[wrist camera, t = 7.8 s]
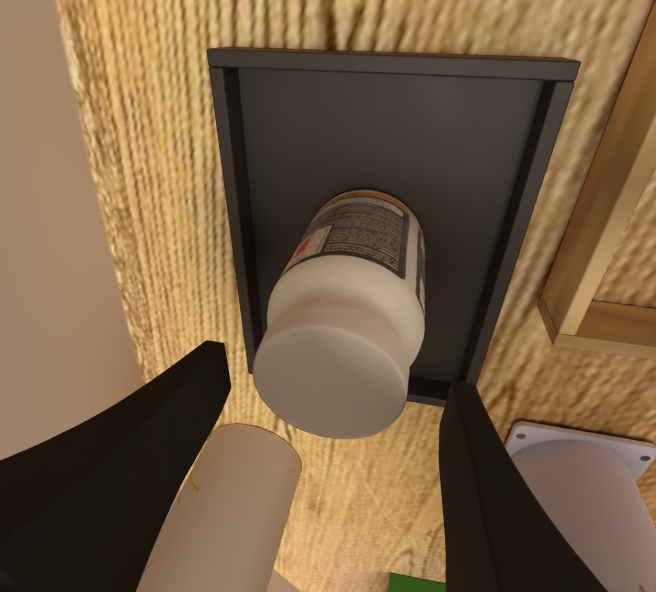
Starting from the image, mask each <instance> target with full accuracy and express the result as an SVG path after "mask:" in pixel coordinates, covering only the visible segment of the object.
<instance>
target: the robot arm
mask: <svg viewBox="0 0 656 592" xmlns="http://www.w3.org/2000/svg"><path fill="white" fill-rule="evenodd" d="M230 390H231V381H230V375H229V369H228V363H227V357H226V351H225V345H224V343H221V342H215V341H209V340H207V341H205V342H204V343H202V344H201V345H199V346H198V347H197V348H195V349H194V350H193V351H191V352H190V353H189V354H187V355H186V356H185V357H183V358H182V359H181V360H179V361H178V362H177V363H175V364H174V365H172V366H171V367H170V368H168V369H167V370H166V371H164V372H163V373H161V374H160V375H159V376H157V377H156V378H154V379H153V380H152V381H150V382H149V383H147V384H146V385H144V386H143V387H141V388H140V389H138V390H137V391H135V392H134V393H132V394H131V395H129V396H127V397H126V398H125V399H123V400H121V401H120V402H118V403H117V404H115V405H113V406H112V407H110V408H108V409H107V410H105V411H103V412H101V413H99V414H98V415H96V416H94V417H92V418H90V419H89V420H87V421H85V422H83V423H81V424H79V425H77V426H75V427H73V428H71V429H69V430H67V431H65V432H63V433H61V434H59V435H57V436H55V437H53V438H51V439H49V440H47V441H45V442H42V443H40V444H38V445H36V446H33V447H31V448H29V449H27V450H25V451H22V452H20V453H17V454H15V455H12V456H10V457H8V458H5V459H3V460H0V592H136V590H137V588H138V585H139V582H140V580H141V577H142V575H143V572H144V570H145V567H146V565H147V562H148V560H149V557H150V554H151V552H152V550H153V547H154V545H155V542H156V540H157V538H158V535H159V533H160V531H161V528H162V526H163V524H164V521H165V519H166V517H167V514H168V512H169V510H170V508H171V506H172V503H173V501H174V499H175V497H176V494H177V492H178V490H179V488H180V486H181V484H182V482H183V480H184V478H185V477H186V475H187V473H188V471H189V469H190V468H191V466H192V464H193V462H194V461H195V459H196V457H197V455H198V454H199V452H200V450H201V448H202V447H203V445H204V443H205V441H206V440H207V438H208V436H209V434H210V433H211V431H212V429H213V427H214V425H215V424H216V422H217V420H218V418H219V416H220V414H221V412H222V410H223V407H224V405H225V403H226V400H227V397H228V395H229V392H230ZM655 458H656V445H654V444H652V443H648V442H642V441H636V440H630V439H624V438H619V437H613V436H607V435H601V434H595V433H590V432H584V431H578V430H572V429H566V428H560V427H555V426H549V425H543V424H537V423H531V422H526V421H519V422H517V423H515V424H514V425H513V428H512V430H511V432H510V435H509V437H508V439H507V441H506V444H505V446H504V444H503V442H502V441H501V439H500V437H499V435H498V433H497V431H496V429H495V427H494V425H493V423H492V421H491V419H490V417H489V415H488V413H487V411H486V409H485V406H484V404H483V402H482V400H481V397H480V395H479V393H478V390H477V388H476V386H475V385H474V384H471V383H465V382H459V381H452V382H451V386H450V390H449V393H448V397H447V401H446V404H445V408H444V411H443V415H442V419H441V422H440V429H439V470H440V482H441V494H442V506H443V518H444V529H445V546H446V592H656V526H655V524H654V522H653V519H652V517H651V515H650V513H649V511H648V508H647V506H646V504H645V502H644V500H643V497H642V495H641V493H640V491H639V489H638V487H637V484H636V481H637V480H638V479H639V478H640V476H641V475H642V474H643V473H644V471H645V470H646V469H647V468H648V466H649V465H650V464H651V463H652V461H653V460H654V459H655Z"/></svg>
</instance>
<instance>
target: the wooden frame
mask: <svg viewBox="0 0 656 592" xmlns="http://www.w3.org/2000/svg"><path fill="white" fill-rule="evenodd" d="M655 166H656V0H655V3H654V5H653V8H652V10H651V13H650V16H649V18H648V21H647V23H646V26H645V28H644V31H643V34H642V36H641V39H640V41H639V44H638V47H637V49H636V52H635V54H634V57H633V60H632V62H631V65H630V67H629V70H628V72H627V75H626V78H625V80H624V83H623V85H622V88H621V91H620V93H619V96H618V98H617V101H616V103H615V106H614V109H613V111H612V114H611V116H610V119H609V122H608V124H607V127H606V129H605V132H604V134H603V137H602V140H601V142H600V145H599V147H598V150H597V153H596V155H595V158H594V160H593V163H592V166H591V168H590V171H589V173H588V176H587V178H586V181H585V184H584V186H583V189H582V191H581V194H580V197H579V199H578V202H577V204H576V207H575V209H574V212H573V215H572V217H571V220H570V222H569V225H568V228H567V230H566V233H565V235H564V238H563V240H562V243H561V246H560V248H559V251H558V253H557V256H556V259H555V261H554V264H553V266H552V269H551V272H550V274H549V277H548V279H547V282H546V284H545V287H544V290H543V292H542V295H541V297H540V299H539V302H538V304H537V307H538V309H539V312H540V315H541V317H542V320H543V322H544V325H545V327H546V330H547V332H548V335H549V338H550V340H551V343H552V345H553V346H557V347H564V348H571V349H578V350H585V351H592V352H599V353H606V354H614V355H621V356H628V357H635V358H642V359H649V360H656V309H654V308H646V307H638V306H630V305H621V304H613V303H605V302H597V301H591V300H592V298H593V296H594V294H595V292H596V290H597V287H598V285H599V283H600V281H601V279H602V277H603V275H604V273H605V271H606V269H607V266H608V264H609V262H610V260H611V258H612V256H613V254H614V252H615V250H616V248H617V246H618V243H619V241H620V239H621V237H622V235H623V233H624V231H625V229H626V227H627V225H628V222H629V220H630V218H631V216H632V214H633V212H634V210H635V208H636V206H637V204H638V201H639V199H640V197H641V195H642V193H643V191H644V189H645V187H646V185H647V183H648V180H649V178H650V176H651V174H652V172H653V170H654V168H655Z"/></svg>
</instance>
